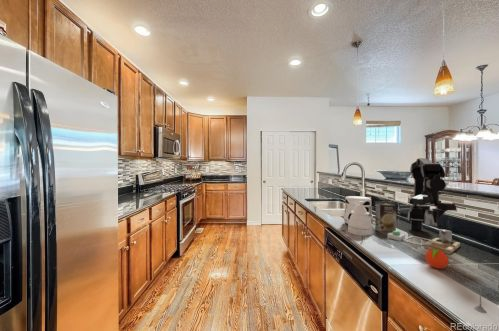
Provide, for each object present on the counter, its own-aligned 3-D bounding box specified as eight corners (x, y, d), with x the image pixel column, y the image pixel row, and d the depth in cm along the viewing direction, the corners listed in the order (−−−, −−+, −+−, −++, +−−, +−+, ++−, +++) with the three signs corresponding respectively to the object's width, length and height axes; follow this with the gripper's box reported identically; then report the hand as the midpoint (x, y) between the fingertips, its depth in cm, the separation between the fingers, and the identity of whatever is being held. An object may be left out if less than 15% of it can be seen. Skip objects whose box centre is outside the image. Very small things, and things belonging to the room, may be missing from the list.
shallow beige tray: (435, 242, 116) (436, 237, 116) (459, 248, 109) (460, 242, 109) (423, 249, 106) (423, 244, 106) (449, 256, 99) (449, 250, 99)
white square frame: (392, 237, 124) (392, 231, 124) (404, 240, 119) (405, 234, 119) (387, 239, 120) (387, 233, 120) (400, 242, 115) (400, 236, 115)
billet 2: (440, 242, 113) (440, 228, 113) (452, 245, 110) (453, 231, 110) (437, 244, 111) (437, 230, 111) (449, 247, 107) (450, 232, 107)
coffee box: (379, 232, 133) (380, 204, 133) (374, 228, 140) (375, 203, 140) (396, 232, 132) (396, 205, 132) (390, 229, 139) (391, 203, 139)
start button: (394, 235, 122) (394, 230, 122) (400, 236, 119) (400, 231, 119) (391, 236, 120) (391, 231, 120) (398, 237, 117) (398, 232, 117)
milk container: (340, 221, 157) (340, 195, 157) (366, 222, 156) (366, 196, 156) (348, 228, 140) (348, 199, 140) (377, 229, 138) (378, 200, 138)
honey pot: (352, 227, 142) (353, 199, 141) (375, 232, 132) (375, 201, 132) (344, 232, 133) (344, 201, 132) (367, 237, 123) (368, 204, 123)
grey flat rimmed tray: (412, 238, 123) (412, 235, 123) (432, 242, 116) (432, 240, 116) (402, 242, 116) (402, 239, 116) (423, 248, 108) (423, 245, 108)
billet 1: (422, 223, 110) (422, 209, 110) (430, 223, 111) (430, 209, 111) (431, 226, 106) (431, 211, 106) (439, 226, 106) (439, 211, 107)
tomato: (444, 274, 82) (444, 255, 82) (421, 267, 88) (421, 249, 88) (450, 268, 87) (451, 250, 87) (428, 262, 93) (428, 244, 93)
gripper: (400, 187, 116) (400, 217, 116) (436, 191, 98) (435, 227, 98) (419, 187, 118) (418, 217, 118) (457, 191, 100) (457, 226, 100)
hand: (430, 221), depth 108 cm, fingers closed on billet 1, 5 cm apart
